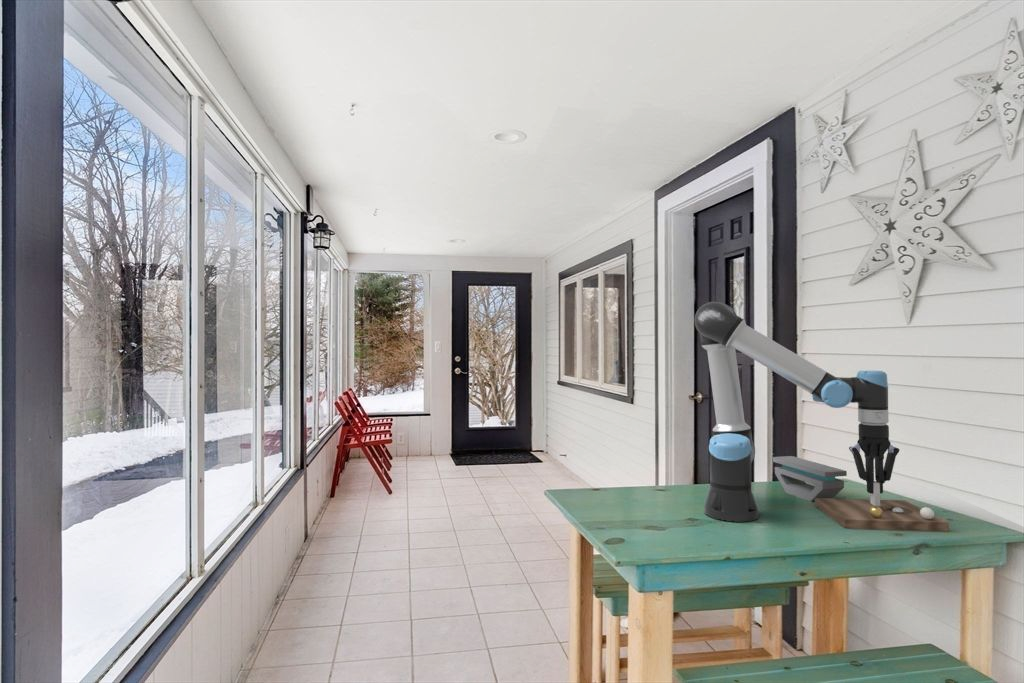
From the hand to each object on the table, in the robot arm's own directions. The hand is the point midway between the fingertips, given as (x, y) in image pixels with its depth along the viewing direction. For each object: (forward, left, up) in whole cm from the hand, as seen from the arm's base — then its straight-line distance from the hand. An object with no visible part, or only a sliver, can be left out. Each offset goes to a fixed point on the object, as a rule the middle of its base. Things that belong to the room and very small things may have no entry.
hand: (875, 504), depth 167 cm
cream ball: (+9, -8, 0) cm, 13 cm away
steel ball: (+6, 0, -2) cm, 6 cm away
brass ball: (-4, -8, 0) cm, 9 cm away
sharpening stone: (-11, +23, -4) cm, 26 cm away
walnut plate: (0, 0, -4) cm, 4 cm away
